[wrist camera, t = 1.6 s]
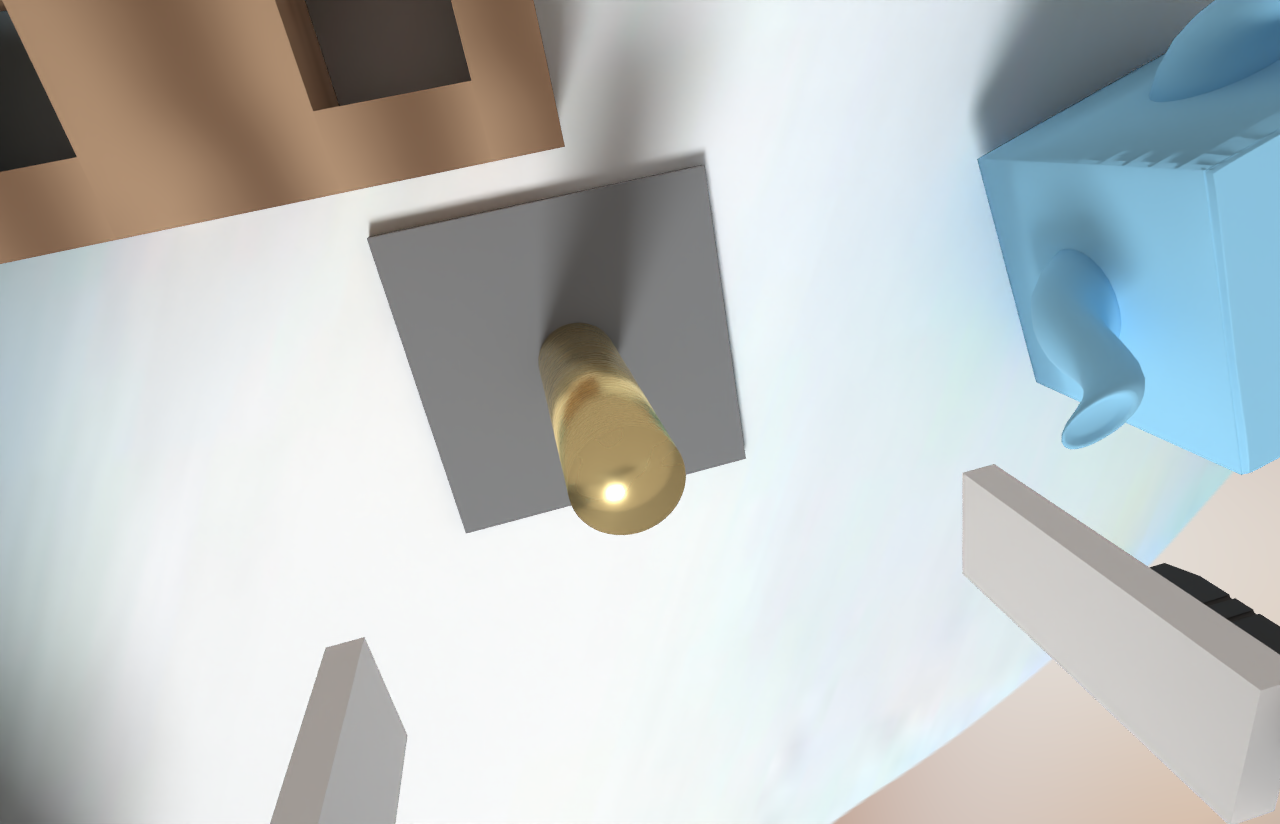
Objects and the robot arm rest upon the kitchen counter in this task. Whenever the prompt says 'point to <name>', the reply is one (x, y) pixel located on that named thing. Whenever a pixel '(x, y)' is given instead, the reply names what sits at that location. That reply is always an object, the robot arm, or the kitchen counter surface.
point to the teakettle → (1158, 243)
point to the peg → (607, 434)
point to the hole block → (245, 114)
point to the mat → (544, 301)
